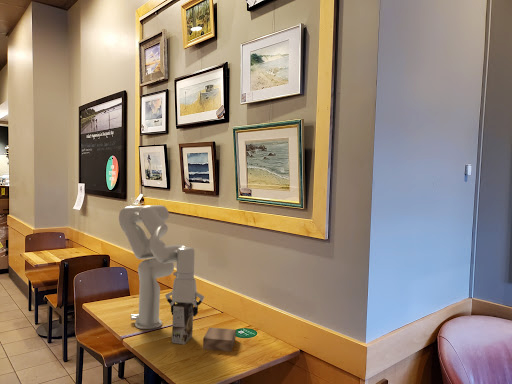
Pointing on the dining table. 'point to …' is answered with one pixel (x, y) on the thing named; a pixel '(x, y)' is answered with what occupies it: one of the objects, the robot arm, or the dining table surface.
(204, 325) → the dining table surface
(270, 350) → the dining table surface
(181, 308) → the coffee box
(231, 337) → the walnut block
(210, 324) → the dining table surface
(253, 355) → the dining table surface
